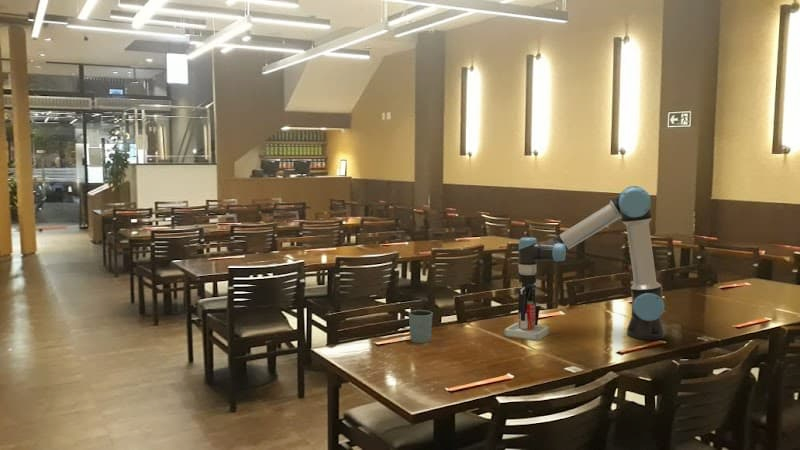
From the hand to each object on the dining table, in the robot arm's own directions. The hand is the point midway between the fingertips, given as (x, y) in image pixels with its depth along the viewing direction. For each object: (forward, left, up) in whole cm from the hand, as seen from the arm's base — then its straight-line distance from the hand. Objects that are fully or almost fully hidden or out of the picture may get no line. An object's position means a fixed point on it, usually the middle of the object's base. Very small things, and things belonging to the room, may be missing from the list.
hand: (527, 325), depth 281 cm
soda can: (0, 0, -2) cm, 2 cm away
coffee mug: (+5, -17, -4) cm, 18 cm away
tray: (0, 0, -4) cm, 4 cm away
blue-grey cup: (+35, +31, -4) cm, 47 cm away
